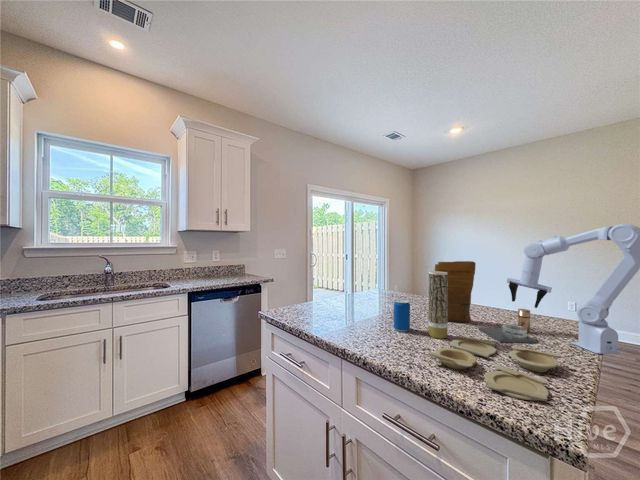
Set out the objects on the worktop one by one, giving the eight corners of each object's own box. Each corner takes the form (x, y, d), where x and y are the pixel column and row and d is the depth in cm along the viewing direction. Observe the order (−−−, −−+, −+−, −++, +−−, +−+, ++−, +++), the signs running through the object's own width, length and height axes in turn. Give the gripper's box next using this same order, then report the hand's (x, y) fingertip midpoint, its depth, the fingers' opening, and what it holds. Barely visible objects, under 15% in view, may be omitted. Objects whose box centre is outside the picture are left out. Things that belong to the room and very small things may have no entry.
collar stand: (536, 342, 98) (536, 332, 98) (500, 342, 98) (500, 331, 98) (509, 330, 112) (509, 320, 112) (478, 329, 112) (478, 320, 112)
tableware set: (460, 338, 103) (461, 327, 103) (562, 364, 82) (562, 351, 82) (417, 367, 79) (417, 353, 79) (545, 415, 58) (546, 396, 58)
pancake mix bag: (478, 324, 120) (479, 261, 120) (434, 322, 122) (435, 261, 122) (471, 319, 127) (472, 260, 127) (430, 318, 128) (430, 260, 128)
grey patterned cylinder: (449, 340, 100) (450, 273, 100) (430, 338, 102) (430, 273, 102) (444, 333, 107) (445, 271, 107) (426, 332, 108) (427, 271, 108)
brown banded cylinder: (532, 333, 108) (533, 311, 108) (522, 333, 108) (522, 311, 108) (525, 330, 112) (525, 308, 112) (515, 330, 112) (515, 308, 112)
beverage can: (407, 327, 114) (408, 299, 114) (411, 332, 108) (411, 303, 108) (392, 326, 115) (392, 299, 115) (395, 332, 109) (395, 302, 109)
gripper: (555, 275, 106) (548, 308, 108) (512, 267, 117) (506, 297, 119) (552, 277, 102) (545, 311, 104) (507, 268, 112) (502, 299, 114)
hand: (524, 304), depth 111 cm, fingers open, 7 cm apart
